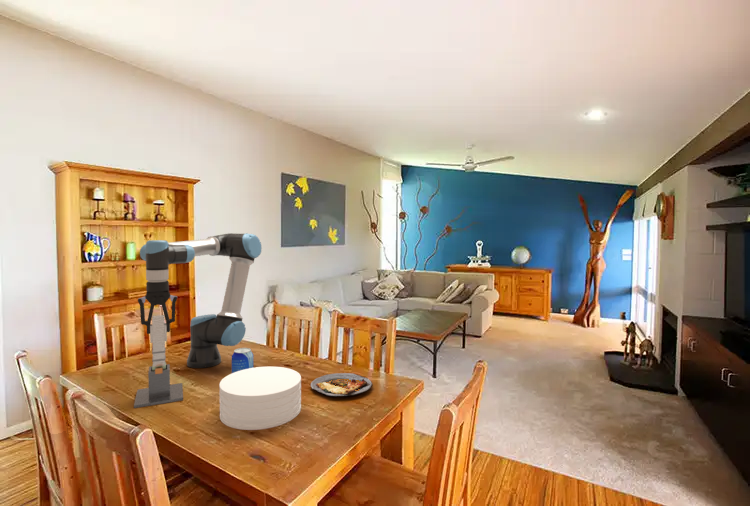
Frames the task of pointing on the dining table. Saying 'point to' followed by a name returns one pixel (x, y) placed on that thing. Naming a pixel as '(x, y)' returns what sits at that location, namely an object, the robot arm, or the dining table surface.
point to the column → (158, 342)
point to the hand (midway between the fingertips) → (158, 341)
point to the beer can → (242, 359)
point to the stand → (159, 389)
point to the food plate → (341, 384)
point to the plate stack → (260, 397)
